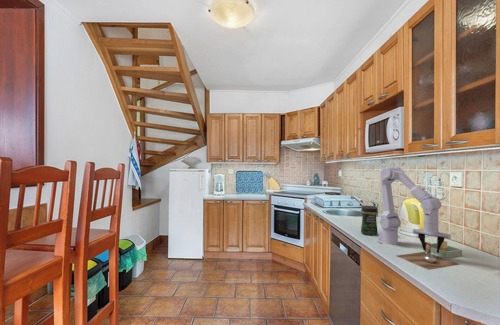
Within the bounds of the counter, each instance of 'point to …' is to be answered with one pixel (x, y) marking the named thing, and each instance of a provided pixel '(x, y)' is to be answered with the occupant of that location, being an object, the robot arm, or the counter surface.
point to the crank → (428, 253)
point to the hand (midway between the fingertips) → (431, 251)
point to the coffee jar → (369, 220)
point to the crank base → (419, 260)
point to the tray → (450, 251)
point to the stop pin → (443, 246)
